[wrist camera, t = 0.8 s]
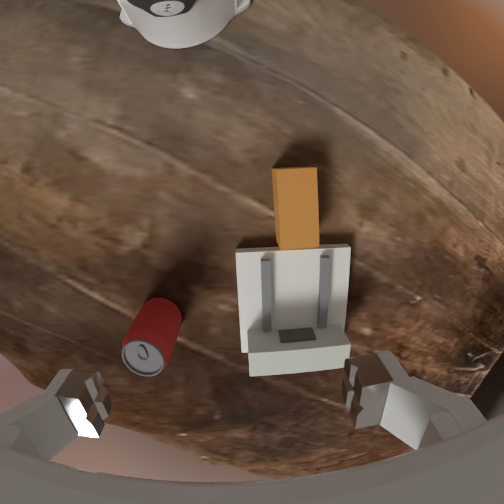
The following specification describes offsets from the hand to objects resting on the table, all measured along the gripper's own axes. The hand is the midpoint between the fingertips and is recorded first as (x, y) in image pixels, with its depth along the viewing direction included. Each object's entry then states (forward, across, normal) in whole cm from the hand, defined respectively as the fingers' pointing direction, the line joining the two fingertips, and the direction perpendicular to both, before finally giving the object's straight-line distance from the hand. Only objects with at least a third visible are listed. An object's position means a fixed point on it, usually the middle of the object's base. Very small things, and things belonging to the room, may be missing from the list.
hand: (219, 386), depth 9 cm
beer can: (+35, +13, +15) cm, 40 cm away
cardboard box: (+36, -8, 0) cm, 36 cm away
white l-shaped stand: (+35, -7, +14) cm, 39 cm away
